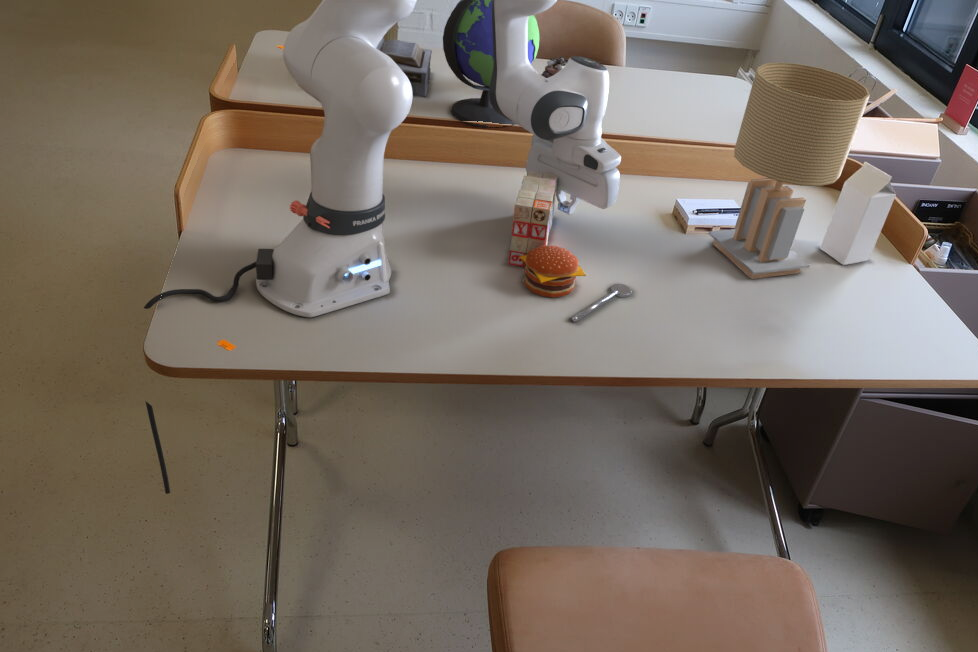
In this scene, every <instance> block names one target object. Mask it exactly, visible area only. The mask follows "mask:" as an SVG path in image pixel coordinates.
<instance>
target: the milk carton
mask: <svg viewBox="0 0 978 652" xmlns="http://www.w3.org/2000/svg"><path fill="white" fill-rule="evenodd" d="M892 178H893V176H892V175H890V174H888V173H886V172H885V171H884V170H882V169H879V168H878V167H876V166H874V165H872V163H869V162H867V161H864V162H863V164H862V166H861V167H860V168H859V169H858V170H856V171H855V172H853V174H852V175H851V176H850V177H848V178H847V179H846V180H845V181H844V183H843V186H842V187H841V192H840V193H839V196H838V198H837V202H836V204H835V207H834V209H833V213H832V215H831V218H830V221H829V223H828V226H827V228H826V231H825V234H824V237H823V239H822V242H821V244H820V247H819V249H820V250H821V251H822V252H824V253H825V254H827V255H828V256H830V257H831V258H833V259H834V260H836V261H837V262H838V263H840V264H841V265H842V266H846V265H852V264H857V263H864V262H868V261H869V260H870V259H871V256H872V254H873V251H874V249H875V248H876V244H877V241H878V240H879V238H880V234H881V232H882V229H883V227H884V225H885V222H886V220H887V218H888V216H889V213H890V211H891V208H892V206H893V203H894V201H895V198H896V196H897V193H896V191H895V188H894V187H893V185H892V183H891V180H892Z"/></svg>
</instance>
